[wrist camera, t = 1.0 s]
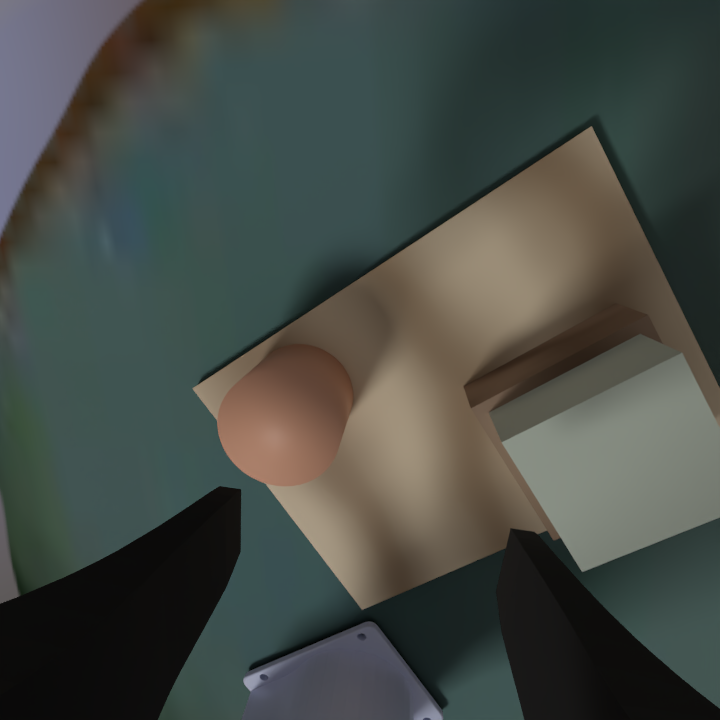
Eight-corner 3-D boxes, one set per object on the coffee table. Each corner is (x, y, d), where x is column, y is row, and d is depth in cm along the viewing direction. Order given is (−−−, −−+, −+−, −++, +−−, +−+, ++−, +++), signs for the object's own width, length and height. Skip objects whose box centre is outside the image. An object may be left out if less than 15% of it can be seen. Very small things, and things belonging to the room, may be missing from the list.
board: (363, 602, 24) (362, 610, 24) (197, 384, 21) (192, 388, 21) (738, 438, 19) (747, 443, 19) (586, 129, 16) (591, 126, 16)
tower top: (559, 526, 18) (582, 572, 16) (488, 412, 17) (501, 442, 15) (706, 463, 17) (757, 502, 14) (640, 333, 15) (682, 352, 13)
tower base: (537, 504, 21) (553, 540, 18) (463, 386, 19) (470, 408, 17) (685, 438, 19) (725, 467, 17) (615, 303, 18) (648, 314, 15)
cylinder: (291, 456, 21) (265, 505, 18) (233, 377, 20) (192, 410, 17) (373, 410, 20) (364, 452, 16) (314, 324, 19) (291, 347, 15)
